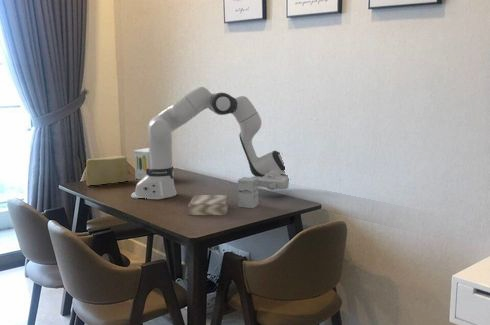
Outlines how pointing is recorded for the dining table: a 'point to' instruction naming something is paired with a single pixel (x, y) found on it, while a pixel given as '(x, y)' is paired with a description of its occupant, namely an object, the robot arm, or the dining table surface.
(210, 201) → the block
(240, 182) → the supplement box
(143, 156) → the supplement box
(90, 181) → the cheese
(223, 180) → the dining table surface
